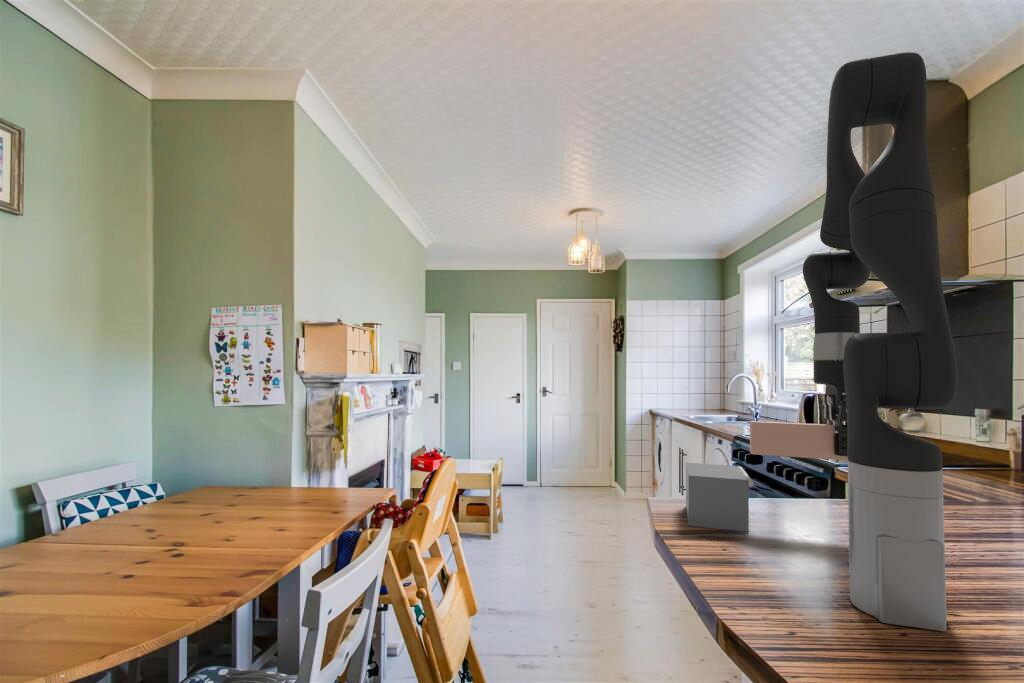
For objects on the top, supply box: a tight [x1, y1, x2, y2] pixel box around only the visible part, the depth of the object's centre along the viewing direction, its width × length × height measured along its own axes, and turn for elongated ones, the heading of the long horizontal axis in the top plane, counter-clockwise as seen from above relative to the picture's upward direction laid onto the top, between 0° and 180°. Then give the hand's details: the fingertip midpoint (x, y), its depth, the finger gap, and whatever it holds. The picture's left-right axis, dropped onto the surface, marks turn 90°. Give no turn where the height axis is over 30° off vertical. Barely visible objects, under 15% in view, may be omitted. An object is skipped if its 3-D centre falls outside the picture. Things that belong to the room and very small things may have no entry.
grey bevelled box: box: [685, 462, 755, 533], centre depth 97 cm, size 14×11×9 cm
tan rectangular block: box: [749, 420, 848, 461], centre depth 94 cm, size 2×16×6 cm, turn 73°
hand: (838, 453), depth 92 cm, fingers closed on tan rectangular block, 2 cm apart
